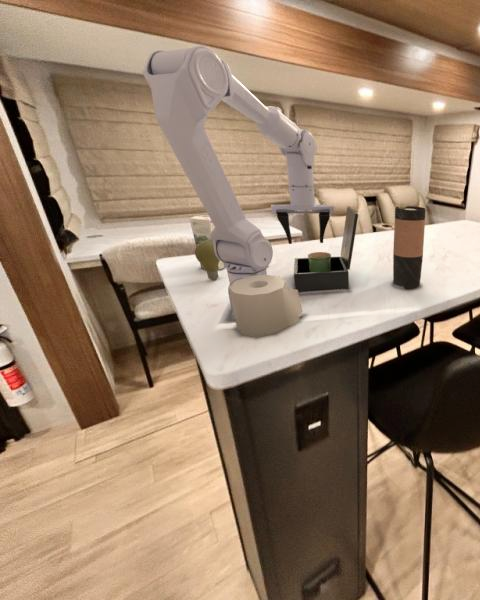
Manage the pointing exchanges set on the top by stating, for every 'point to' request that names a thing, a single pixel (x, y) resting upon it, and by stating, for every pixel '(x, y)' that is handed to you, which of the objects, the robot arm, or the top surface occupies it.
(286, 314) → the toilet tissue
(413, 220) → the travel mug
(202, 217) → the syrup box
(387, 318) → the top surface
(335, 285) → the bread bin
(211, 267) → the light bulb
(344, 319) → the top surface
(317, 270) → the green pot
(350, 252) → the bin lid
